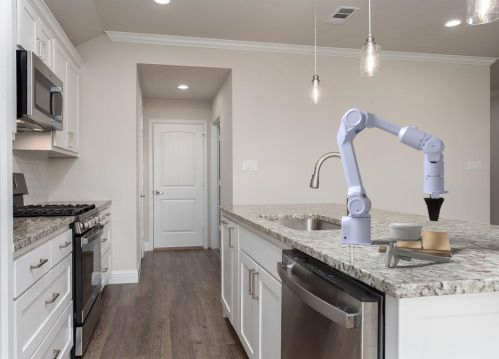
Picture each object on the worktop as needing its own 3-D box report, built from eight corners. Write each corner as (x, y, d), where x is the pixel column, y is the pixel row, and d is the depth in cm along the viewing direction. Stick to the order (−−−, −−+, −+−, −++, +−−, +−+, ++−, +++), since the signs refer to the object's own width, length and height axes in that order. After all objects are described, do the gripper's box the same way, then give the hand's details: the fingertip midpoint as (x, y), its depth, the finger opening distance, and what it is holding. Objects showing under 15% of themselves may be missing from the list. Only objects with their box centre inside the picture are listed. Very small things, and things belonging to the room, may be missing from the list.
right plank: (423, 252, 110) (423, 248, 110) (422, 234, 120) (422, 230, 120) (450, 254, 108) (450, 250, 107) (447, 235, 117) (447, 232, 117)
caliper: (388, 269, 92) (388, 243, 92) (385, 268, 93) (385, 242, 93) (454, 263, 98) (454, 239, 98) (450, 262, 99) (450, 238, 99)
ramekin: (381, 237, 139) (381, 223, 139) (403, 235, 144) (403, 221, 144) (406, 242, 129) (406, 227, 129) (429, 240, 134) (429, 225, 134)
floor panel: (378, 252, 110) (378, 248, 110) (379, 250, 114) (379, 246, 114) (448, 258, 104) (448, 253, 104) (447, 255, 107) (447, 250, 107)
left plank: (395, 250, 113) (395, 246, 113) (396, 244, 123) (396, 240, 123) (421, 252, 111) (421, 248, 111) (420, 245, 121) (420, 242, 121)
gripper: (450, 176, 109) (451, 224, 109) (446, 176, 122) (446, 218, 122) (423, 176, 111) (423, 223, 112) (421, 176, 125) (421, 218, 125)
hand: (433, 220), depth 117 cm, fingers closed
